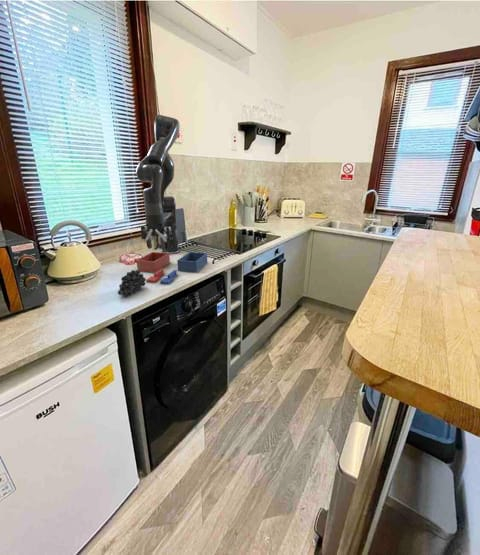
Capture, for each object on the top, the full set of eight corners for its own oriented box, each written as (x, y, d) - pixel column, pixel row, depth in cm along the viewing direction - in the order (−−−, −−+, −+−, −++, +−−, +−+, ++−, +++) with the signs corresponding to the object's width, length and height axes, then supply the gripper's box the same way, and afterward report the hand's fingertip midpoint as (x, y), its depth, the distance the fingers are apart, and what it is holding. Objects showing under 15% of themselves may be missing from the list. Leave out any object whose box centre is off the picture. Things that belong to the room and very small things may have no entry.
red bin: (137, 270, 139) (136, 260, 137) (153, 261, 152) (152, 251, 150) (155, 272, 136) (154, 261, 134) (170, 262, 150) (169, 253, 148)
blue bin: (178, 270, 139) (177, 260, 137) (190, 261, 152) (189, 251, 150) (196, 272, 136) (196, 261, 134) (207, 263, 150) (207, 253, 148)
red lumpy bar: (154, 282, 124) (153, 277, 123) (146, 282, 125) (146, 276, 124) (166, 274, 134) (165, 269, 133) (159, 273, 135) (158, 268, 134)
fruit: (120, 279, 104) (143, 265, 117) (104, 283, 107) (129, 269, 120) (130, 299, 106) (151, 283, 120) (114, 302, 110) (137, 287, 123)
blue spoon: (168, 284, 122) (168, 279, 121) (160, 283, 123) (159, 278, 122) (179, 275, 133) (179, 270, 132) (172, 274, 133) (171, 269, 132)
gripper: (172, 212, 122) (176, 247, 128) (144, 211, 125) (148, 245, 131) (164, 214, 115) (168, 251, 121) (134, 213, 118) (139, 250, 124)
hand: (158, 248), depth 126 cm, fingers open, 8 cm apart
